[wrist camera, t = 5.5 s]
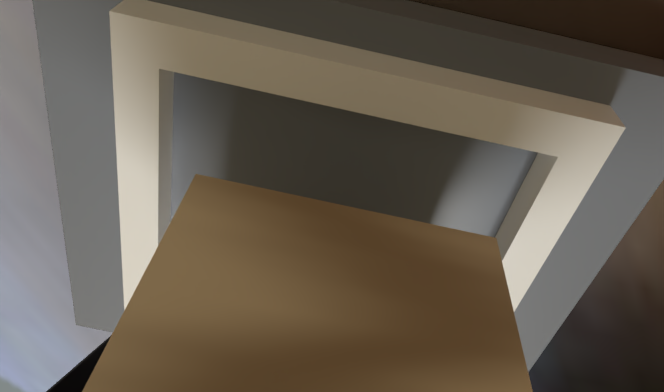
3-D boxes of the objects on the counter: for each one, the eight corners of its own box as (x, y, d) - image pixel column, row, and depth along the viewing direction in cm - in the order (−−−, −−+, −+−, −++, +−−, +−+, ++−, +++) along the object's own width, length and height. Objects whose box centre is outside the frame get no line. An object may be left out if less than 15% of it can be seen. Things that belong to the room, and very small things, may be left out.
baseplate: (698, 67, 10) (749, 113, 9) (496, 378, 16) (507, 436, 15) (53, -82, 10) (-7, -62, 8) (92, 297, 15) (61, 349, 14)
